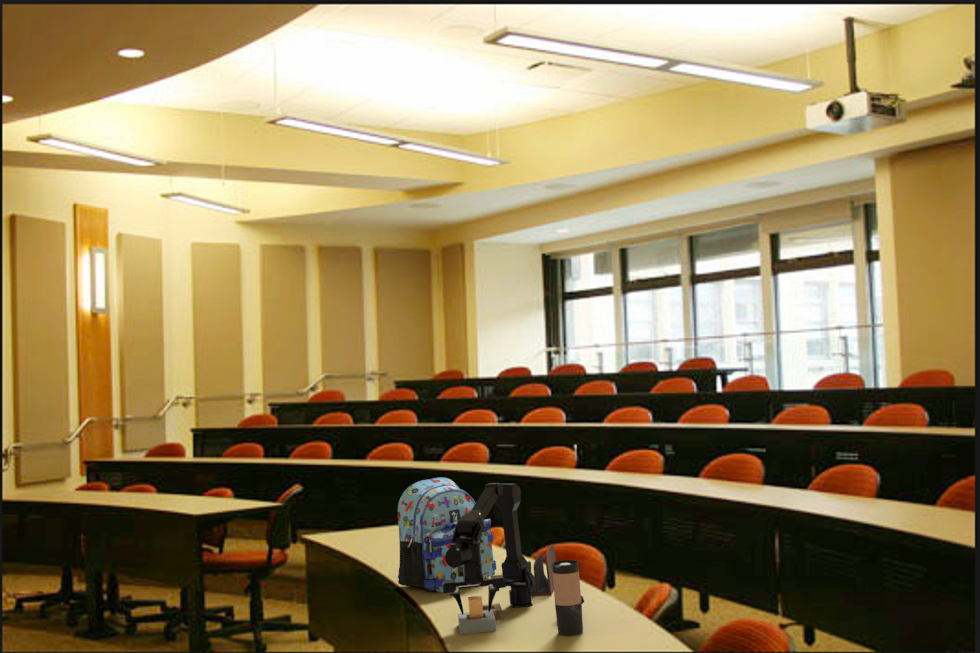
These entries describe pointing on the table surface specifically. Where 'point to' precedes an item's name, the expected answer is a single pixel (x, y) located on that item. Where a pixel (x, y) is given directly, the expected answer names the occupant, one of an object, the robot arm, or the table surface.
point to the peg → (475, 607)
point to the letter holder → (541, 582)
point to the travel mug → (567, 597)
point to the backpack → (435, 533)
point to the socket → (476, 623)
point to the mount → (494, 610)
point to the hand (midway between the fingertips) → (476, 612)
